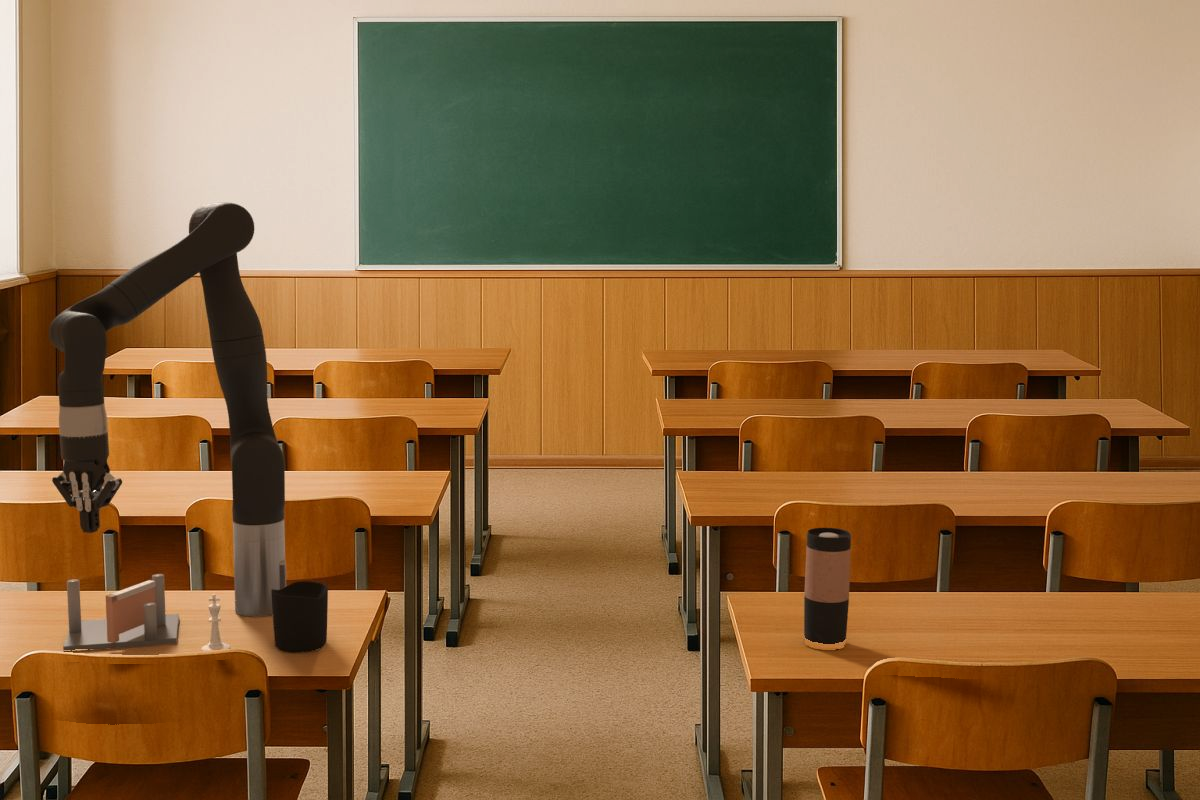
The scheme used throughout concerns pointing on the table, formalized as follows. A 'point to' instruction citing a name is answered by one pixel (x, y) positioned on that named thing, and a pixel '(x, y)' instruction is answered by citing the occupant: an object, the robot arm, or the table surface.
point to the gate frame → (150, 633)
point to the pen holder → (300, 616)
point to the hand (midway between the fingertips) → (90, 531)
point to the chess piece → (215, 628)
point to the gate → (127, 608)
